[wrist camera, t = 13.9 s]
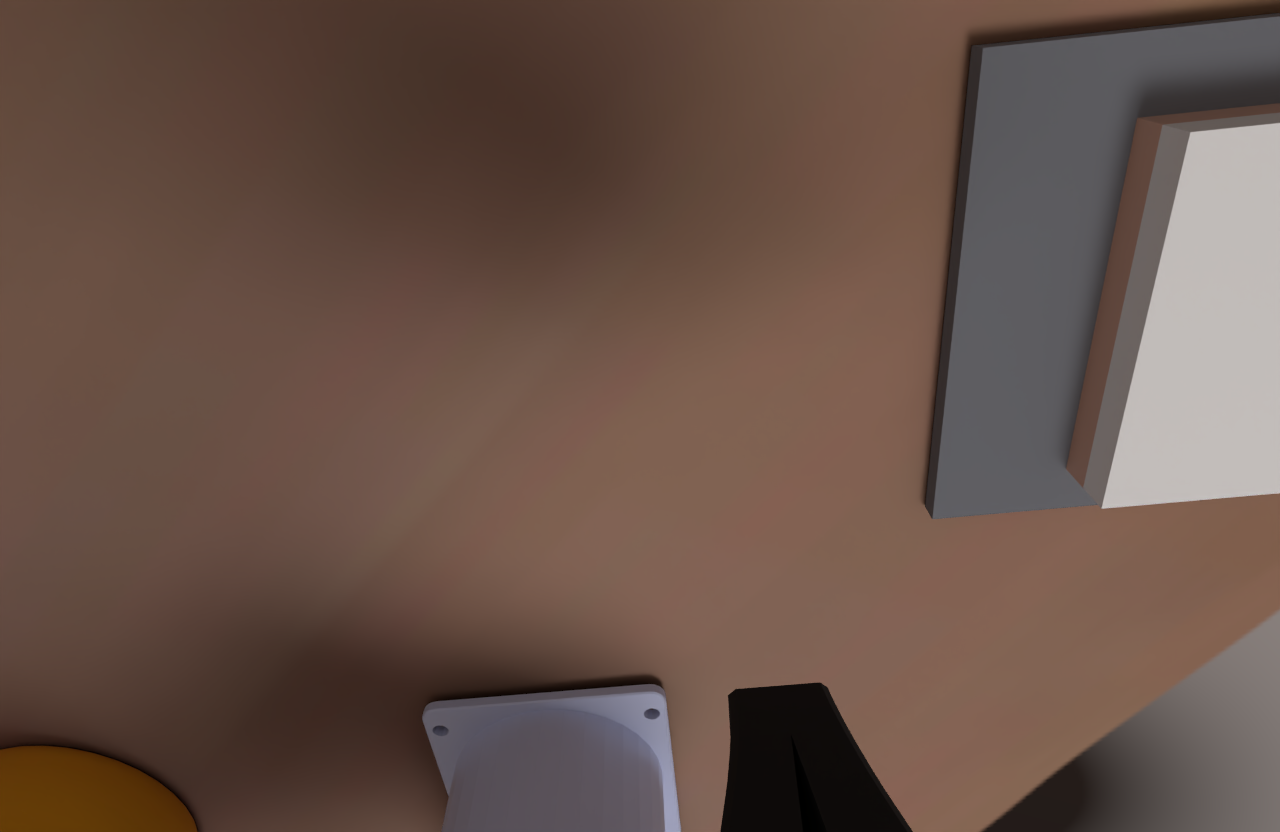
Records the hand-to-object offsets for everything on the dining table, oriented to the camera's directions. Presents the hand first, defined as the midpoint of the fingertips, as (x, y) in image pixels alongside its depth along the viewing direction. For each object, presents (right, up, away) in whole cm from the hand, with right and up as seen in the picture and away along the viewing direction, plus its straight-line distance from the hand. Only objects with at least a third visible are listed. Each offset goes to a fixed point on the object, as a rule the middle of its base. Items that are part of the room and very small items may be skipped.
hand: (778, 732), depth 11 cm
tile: (+9, +7, +7) cm, 13 cm away
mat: (+11, +8, +8) cm, 15 cm away
